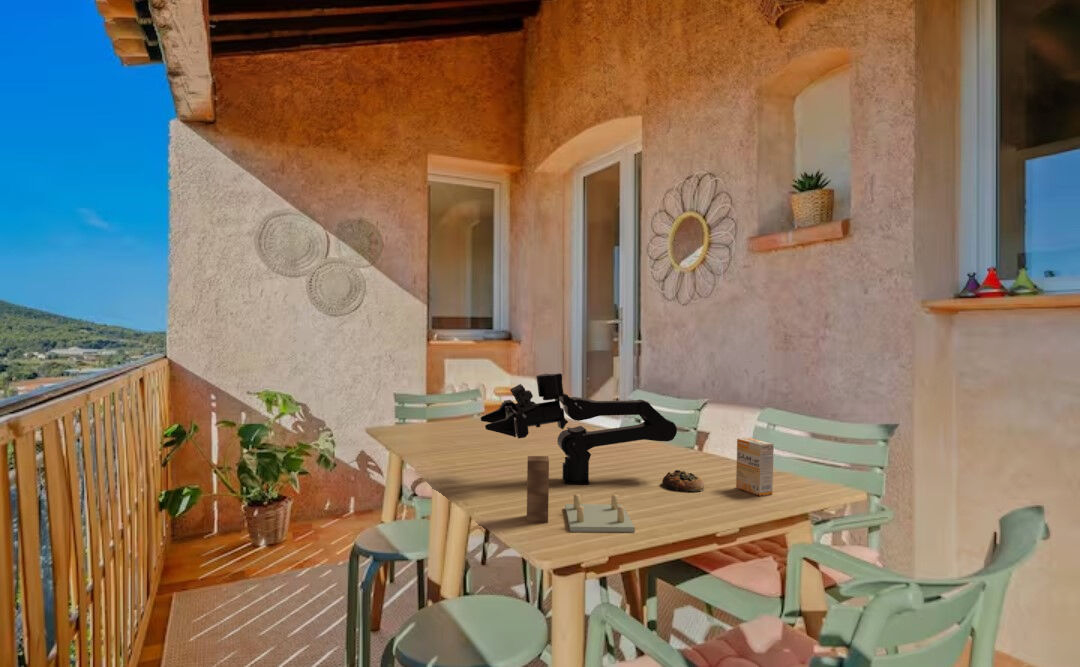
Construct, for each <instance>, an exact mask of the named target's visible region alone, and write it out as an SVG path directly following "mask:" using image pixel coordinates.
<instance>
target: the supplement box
mask: <svg viewBox="0 0 1080 667" xmlns="http://www.w3.org/2000/svg"><path fill="white" fill-rule="evenodd" d="M774 445H775V444H774V443H772V442H767V441H764V440H760V439H756V438H752V437H740V438H739V437H738V438H737V441H736V469H735V470H736V473H735V474H736V477H735V478H736V479H735V488H736V489H739V490H742V491H745V492H747V493H751V494H754V495H756V496H758V495H759V497H762V496H761V495H764V496H770V495H769V494H771V495H773V491H774V490H773V483H774V482H773V481H774V450H775V449H774V447H775V446H774Z"/></svg>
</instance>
